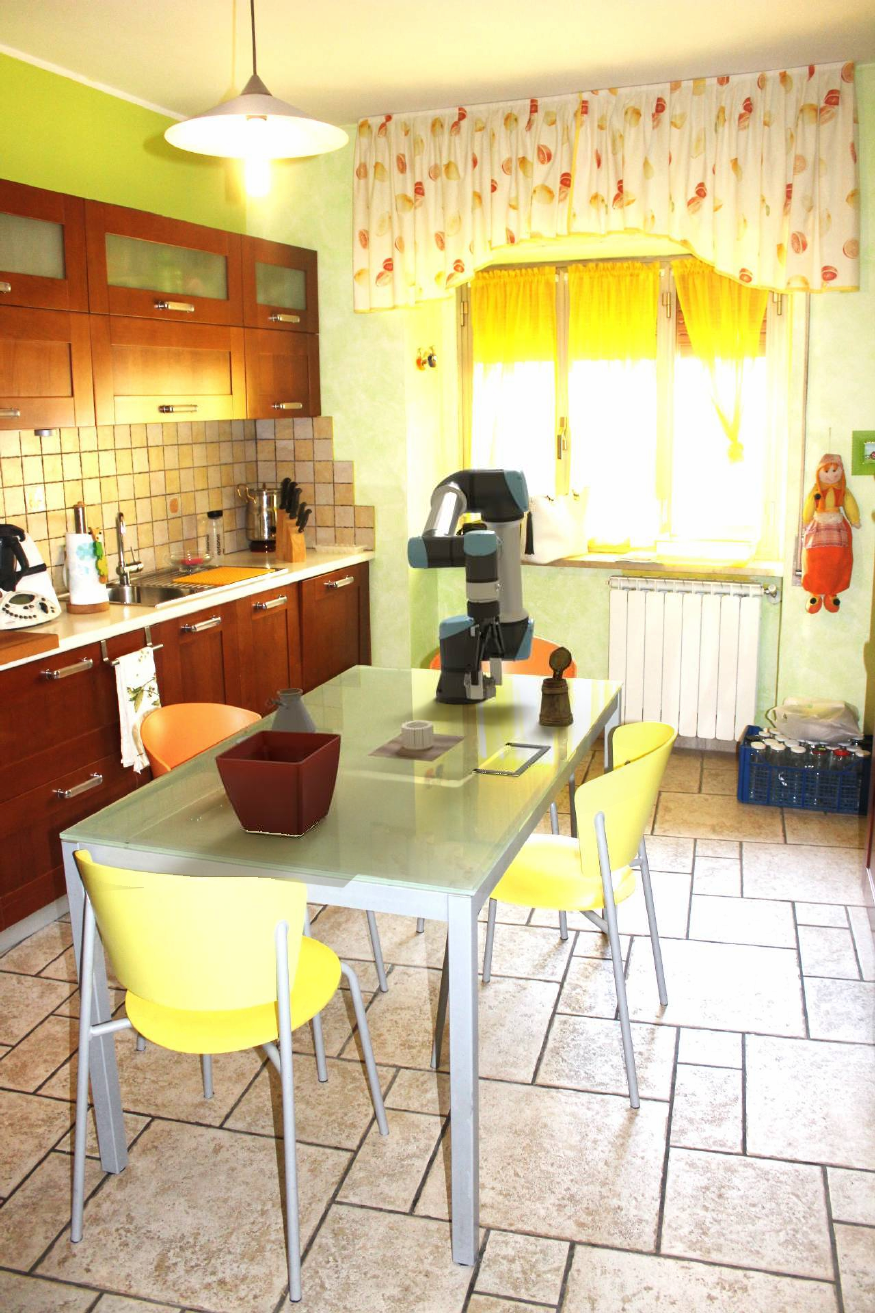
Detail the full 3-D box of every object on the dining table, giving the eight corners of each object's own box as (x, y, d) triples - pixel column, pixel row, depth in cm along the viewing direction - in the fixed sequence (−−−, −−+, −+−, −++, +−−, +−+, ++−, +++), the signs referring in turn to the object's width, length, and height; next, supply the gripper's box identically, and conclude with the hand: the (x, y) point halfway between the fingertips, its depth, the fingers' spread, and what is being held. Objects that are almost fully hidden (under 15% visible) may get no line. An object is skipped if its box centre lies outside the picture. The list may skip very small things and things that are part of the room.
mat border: (478, 740, 273) (478, 739, 273) (551, 747, 265) (551, 746, 265) (440, 768, 254) (440, 767, 253) (518, 776, 245) (518, 775, 245)
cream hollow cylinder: (411, 739, 272) (410, 719, 271) (438, 742, 269) (437, 721, 268) (397, 748, 266) (396, 728, 265) (425, 751, 263) (424, 730, 262)
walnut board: (405, 735, 280) (405, 731, 280) (467, 741, 273) (466, 736, 273) (368, 759, 263) (367, 754, 262) (432, 766, 255) (432, 761, 255)
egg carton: (496, 699, 252) (496, 681, 251) (463, 700, 252) (463, 683, 251) (496, 686, 262) (496, 669, 261) (465, 687, 263) (464, 671, 262)
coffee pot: (279, 733, 288) (275, 677, 285) (322, 733, 286) (317, 677, 283) (251, 759, 268) (245, 699, 264) (296, 759, 265) (291, 699, 262)
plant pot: (220, 838, 219) (212, 756, 215) (267, 804, 236) (261, 728, 232) (306, 847, 212) (299, 763, 208) (348, 812, 229) (343, 734, 226)
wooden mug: (581, 712, 293) (579, 646, 289) (568, 727, 280) (567, 658, 276) (548, 711, 296) (546, 645, 292) (534, 725, 283) (532, 657, 279)
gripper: (478, 609, 240) (482, 706, 245) (516, 590, 261) (519, 679, 266) (446, 608, 243) (451, 704, 248) (487, 589, 264) (490, 678, 269)
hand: (487, 691), depth 257 cm, fingers closed on egg carton, 11 cm apart
